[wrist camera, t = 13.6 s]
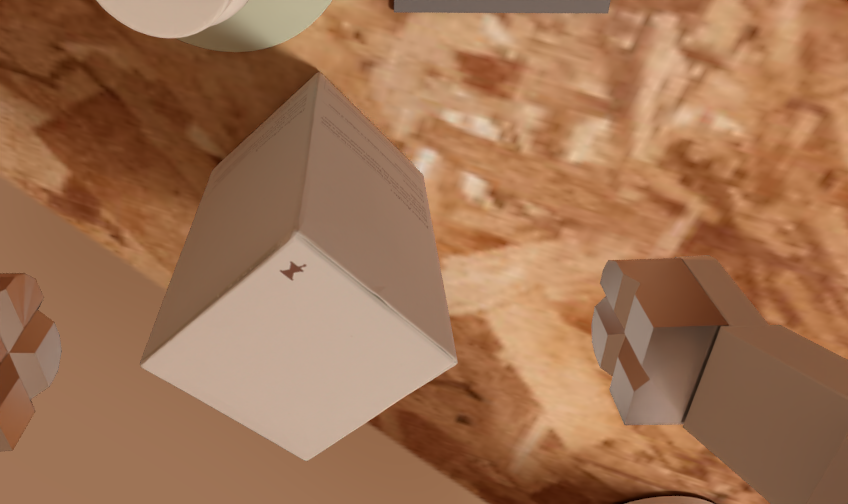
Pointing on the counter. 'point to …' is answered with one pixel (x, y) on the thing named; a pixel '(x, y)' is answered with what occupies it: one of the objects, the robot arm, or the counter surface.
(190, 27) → the pill bottle
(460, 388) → the counter surface
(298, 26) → the pale green domed disc
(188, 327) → the supplement box
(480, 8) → the grey flat square slab
